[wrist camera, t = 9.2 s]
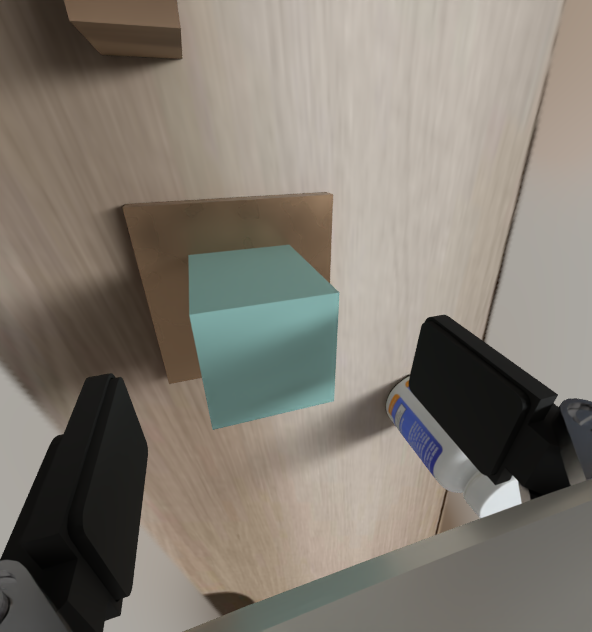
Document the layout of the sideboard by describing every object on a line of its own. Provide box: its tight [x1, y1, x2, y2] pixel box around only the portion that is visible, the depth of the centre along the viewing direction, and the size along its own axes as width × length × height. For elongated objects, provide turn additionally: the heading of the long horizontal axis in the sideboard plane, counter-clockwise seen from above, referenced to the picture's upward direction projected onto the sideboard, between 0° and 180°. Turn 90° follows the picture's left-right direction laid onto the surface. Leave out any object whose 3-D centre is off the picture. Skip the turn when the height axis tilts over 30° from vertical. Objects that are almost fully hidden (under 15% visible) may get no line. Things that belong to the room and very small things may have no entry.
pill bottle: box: [386, 376, 521, 518], centre depth 23 cm, size 5×5×10 cm
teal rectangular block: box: [188, 245, 339, 430], centre depth 15 cm, size 5×5×7 cm
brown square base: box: [122, 192, 333, 384], centre depth 15 cm, size 10×10×7 cm
